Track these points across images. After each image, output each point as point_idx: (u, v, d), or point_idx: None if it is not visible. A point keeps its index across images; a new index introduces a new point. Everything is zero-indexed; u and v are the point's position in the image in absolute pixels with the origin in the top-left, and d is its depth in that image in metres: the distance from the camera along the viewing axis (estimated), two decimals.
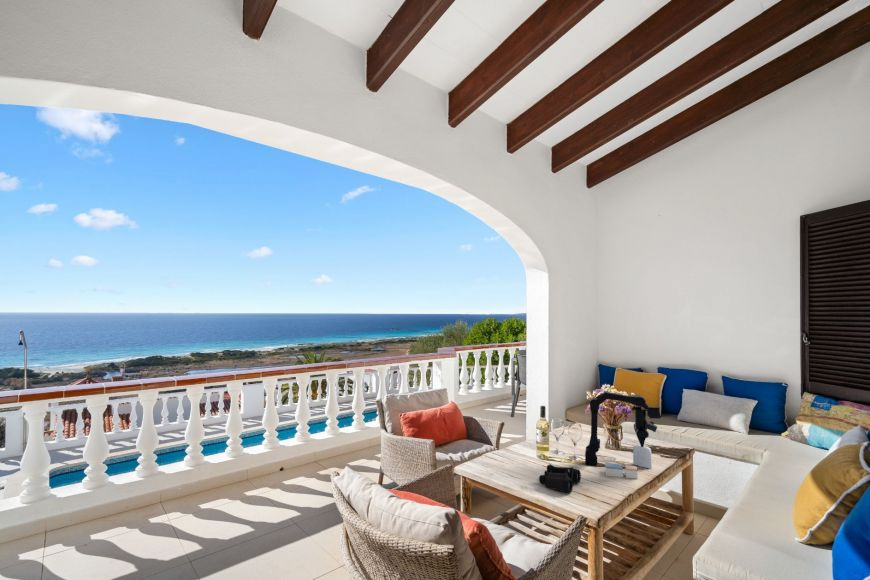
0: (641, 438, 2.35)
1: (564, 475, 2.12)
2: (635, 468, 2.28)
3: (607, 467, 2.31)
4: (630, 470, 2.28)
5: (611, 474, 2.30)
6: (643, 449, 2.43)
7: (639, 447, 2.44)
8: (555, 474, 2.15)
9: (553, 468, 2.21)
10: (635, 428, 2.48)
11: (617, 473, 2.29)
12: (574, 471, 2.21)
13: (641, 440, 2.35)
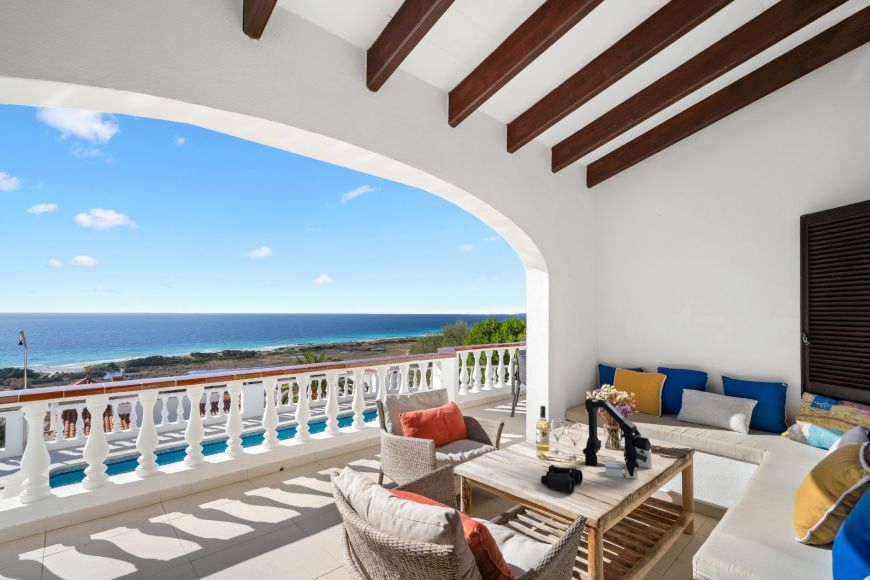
0: (630, 467, 2.26)
1: (566, 475, 2.12)
2: (635, 468, 2.28)
3: (607, 467, 2.31)
4: None
5: (611, 474, 2.30)
6: None
7: None
8: (557, 474, 2.15)
9: (555, 468, 2.21)
10: (625, 457, 2.36)
11: (617, 473, 2.29)
12: (576, 471, 2.20)
13: (630, 469, 2.26)
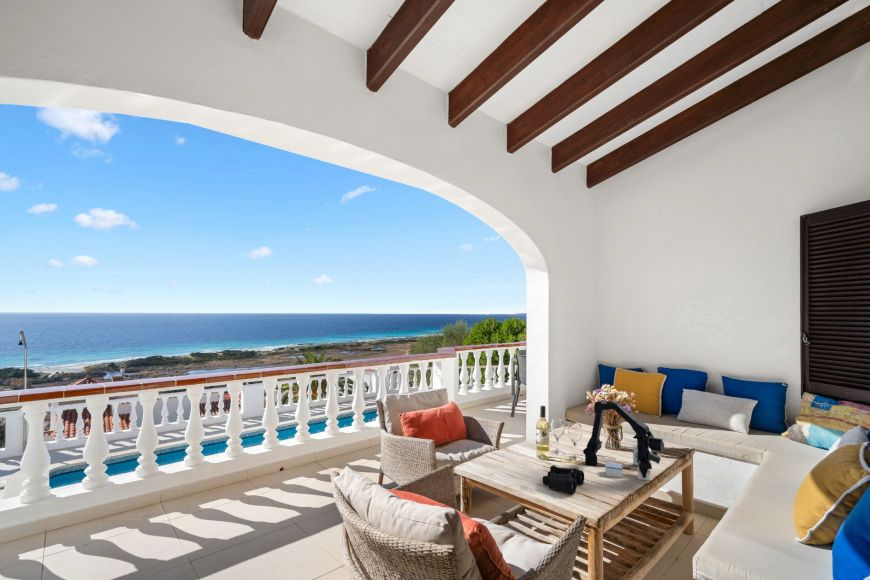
0: (643, 469, 2.24)
1: (567, 476, 2.11)
2: (648, 469, 2.26)
3: (607, 467, 2.31)
4: None
5: (611, 474, 2.30)
6: None
7: None
8: (558, 475, 2.14)
9: (556, 469, 2.20)
10: (637, 459, 2.34)
11: (617, 473, 2.29)
12: (578, 472, 2.20)
13: (643, 471, 2.24)
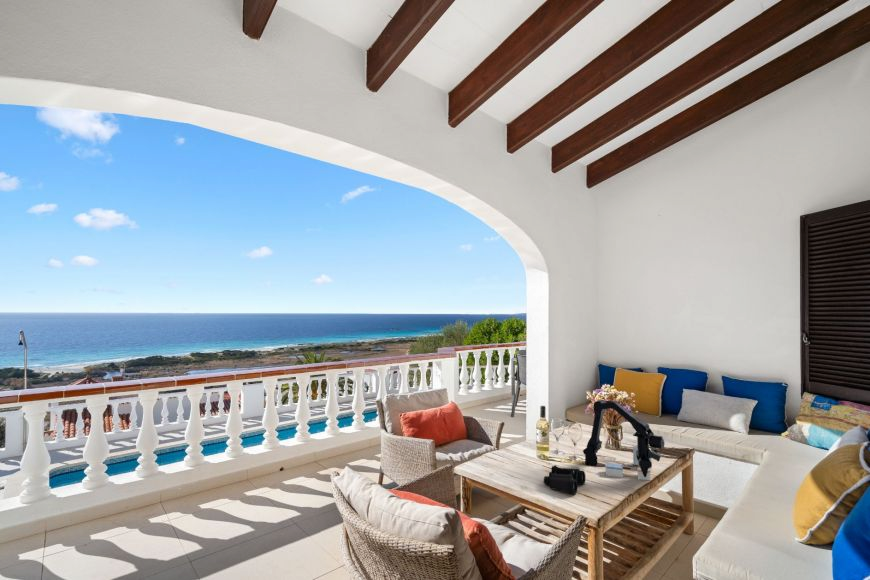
0: (644, 468, 2.22)
1: (569, 476, 2.11)
2: (648, 469, 2.26)
3: (607, 467, 2.31)
4: None
5: (611, 474, 2.30)
6: None
7: None
8: (560, 475, 2.14)
9: (558, 469, 2.20)
10: (637, 455, 2.36)
11: (617, 473, 2.29)
12: (579, 472, 2.20)
13: (644, 470, 2.22)
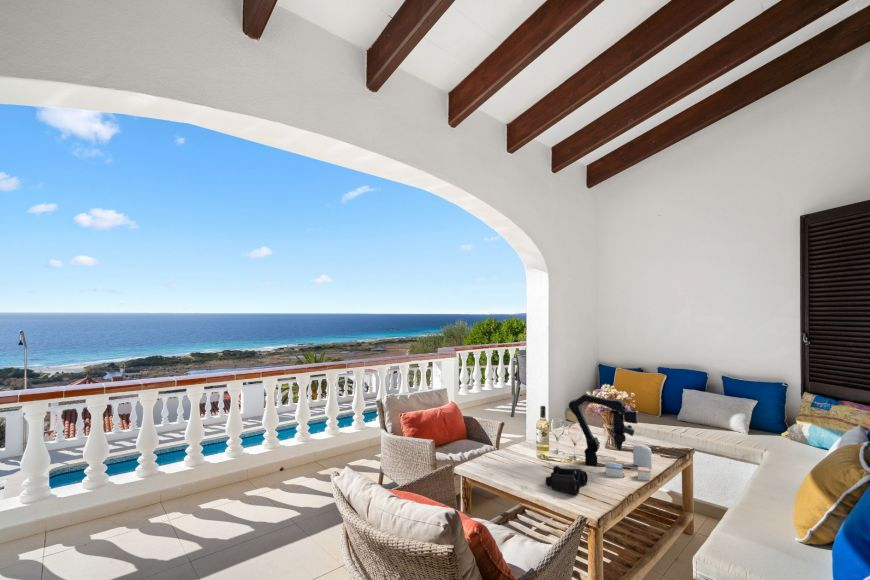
0: (618, 442, 2.36)
1: (571, 477, 2.10)
2: (648, 469, 2.26)
3: (607, 467, 2.31)
4: (643, 472, 2.25)
5: (611, 474, 2.30)
6: (643, 449, 2.43)
7: (639, 447, 2.44)
8: (562, 476, 2.13)
9: (559, 469, 2.19)
10: (614, 432, 2.50)
11: (617, 473, 2.29)
12: (581, 473, 2.19)
13: (618, 444, 2.36)
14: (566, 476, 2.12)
